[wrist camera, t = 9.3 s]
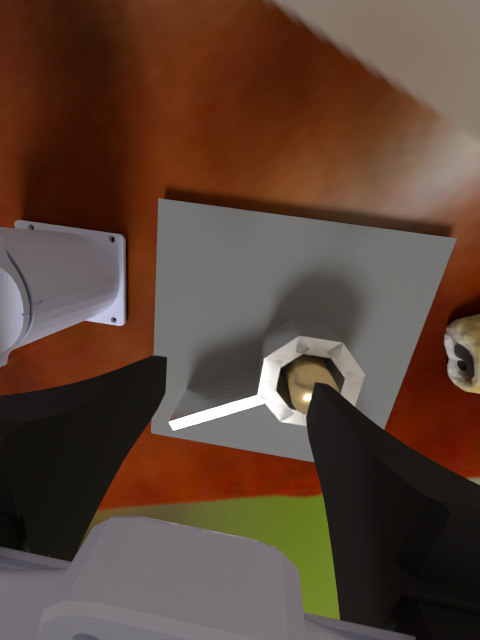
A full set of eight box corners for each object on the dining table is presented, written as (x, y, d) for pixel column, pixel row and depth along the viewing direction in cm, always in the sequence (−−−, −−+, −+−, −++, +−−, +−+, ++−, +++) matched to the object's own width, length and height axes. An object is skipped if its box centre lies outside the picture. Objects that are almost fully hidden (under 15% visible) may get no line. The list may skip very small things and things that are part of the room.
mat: (155, 426, 26) (151, 433, 25) (163, 200, 19) (158, 198, 18) (363, 463, 25) (367, 471, 24) (446, 238, 18) (456, 238, 17)
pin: (280, 368, 21) (287, 413, 16) (285, 337, 20) (295, 372, 15) (314, 373, 21) (334, 419, 16) (321, 341, 20) (344, 378, 15)
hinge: (183, 428, 24) (166, 467, 20) (193, 301, 20) (174, 316, 16) (338, 456, 24) (356, 502, 19) (380, 330, 20) (413, 353, 15)
